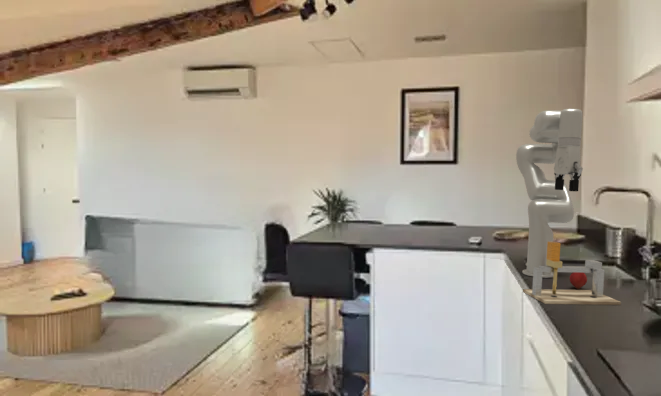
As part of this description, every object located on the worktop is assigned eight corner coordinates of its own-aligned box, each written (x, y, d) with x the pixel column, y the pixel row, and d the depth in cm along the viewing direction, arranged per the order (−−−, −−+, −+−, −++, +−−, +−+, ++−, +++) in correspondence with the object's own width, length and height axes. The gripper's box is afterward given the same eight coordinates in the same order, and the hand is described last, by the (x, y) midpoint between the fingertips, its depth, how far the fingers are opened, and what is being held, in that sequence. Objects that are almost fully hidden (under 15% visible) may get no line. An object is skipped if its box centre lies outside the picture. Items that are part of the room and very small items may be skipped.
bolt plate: (522, 291, 187) (523, 288, 187) (592, 292, 189) (592, 289, 189) (545, 303, 171) (545, 300, 171) (620, 304, 173) (620, 301, 173)
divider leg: (544, 290, 180) (547, 241, 179) (552, 291, 181) (556, 241, 180) (551, 294, 176) (555, 243, 174) (560, 294, 176) (563, 243, 175)
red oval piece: (567, 288, 194) (568, 267, 194) (571, 286, 199) (572, 265, 198) (584, 291, 191) (585, 269, 190) (587, 288, 195) (589, 267, 195)
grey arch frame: (531, 293, 180) (534, 258, 179) (598, 294, 182) (600, 260, 181) (538, 297, 175) (540, 261, 174) (606, 298, 177) (609, 262, 177)
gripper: (547, 143, 199) (544, 189, 200) (572, 142, 182) (569, 191, 183) (566, 144, 200) (563, 189, 201) (593, 143, 183) (589, 192, 184)
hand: (566, 190), depth 192 cm, fingers open, 9 cm apart
